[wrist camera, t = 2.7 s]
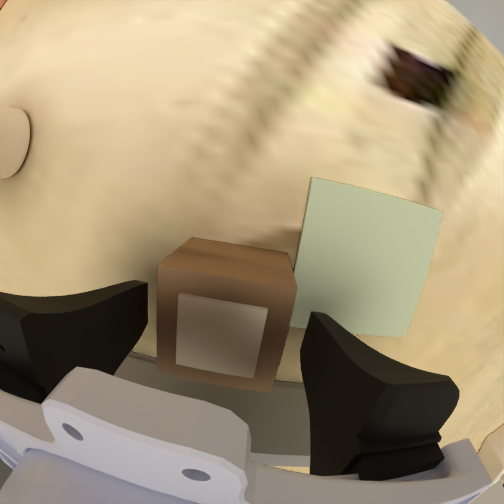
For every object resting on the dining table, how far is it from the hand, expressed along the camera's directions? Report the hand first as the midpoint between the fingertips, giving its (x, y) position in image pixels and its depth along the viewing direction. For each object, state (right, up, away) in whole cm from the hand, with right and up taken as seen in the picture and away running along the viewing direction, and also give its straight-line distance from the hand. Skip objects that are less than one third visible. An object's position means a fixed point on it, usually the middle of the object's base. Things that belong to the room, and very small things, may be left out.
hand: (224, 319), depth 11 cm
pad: (+7, +2, +3) cm, 8 cm away
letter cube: (0, +1, +3) cm, 4 cm away
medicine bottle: (+38, -24, +8) cm, 46 cm away
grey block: (-1, -7, +5) cm, 9 cm away
